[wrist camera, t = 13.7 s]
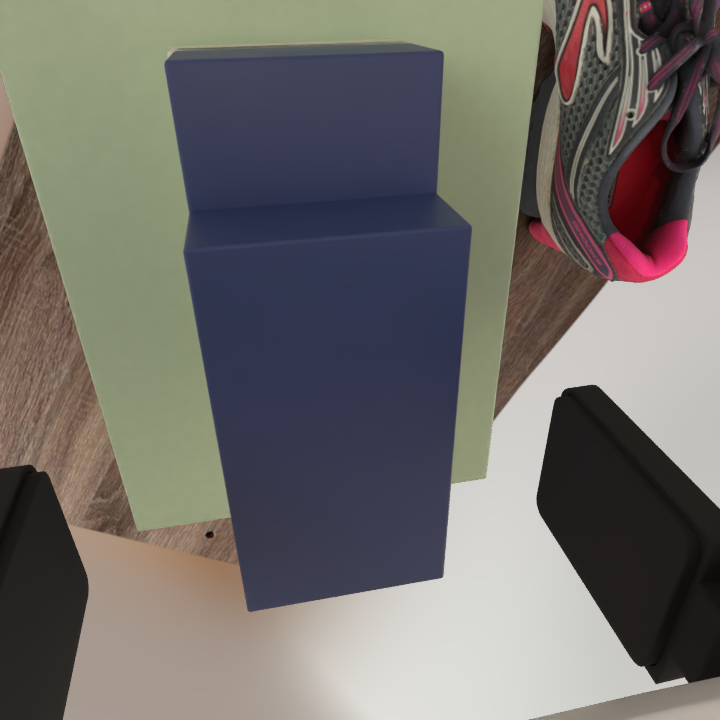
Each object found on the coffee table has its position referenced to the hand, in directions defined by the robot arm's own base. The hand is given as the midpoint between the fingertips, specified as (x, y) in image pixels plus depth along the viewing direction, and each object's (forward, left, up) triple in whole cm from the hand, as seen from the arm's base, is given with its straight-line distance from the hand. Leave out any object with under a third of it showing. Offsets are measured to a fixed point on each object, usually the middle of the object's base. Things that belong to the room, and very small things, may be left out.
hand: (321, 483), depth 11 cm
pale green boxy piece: (+1, +1, -39) cm, 39 cm away
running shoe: (+25, +6, -39) cm, 47 cm away
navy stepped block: (+1, +1, -7) cm, 7 cm away
